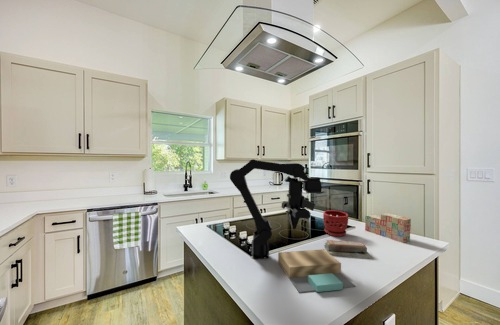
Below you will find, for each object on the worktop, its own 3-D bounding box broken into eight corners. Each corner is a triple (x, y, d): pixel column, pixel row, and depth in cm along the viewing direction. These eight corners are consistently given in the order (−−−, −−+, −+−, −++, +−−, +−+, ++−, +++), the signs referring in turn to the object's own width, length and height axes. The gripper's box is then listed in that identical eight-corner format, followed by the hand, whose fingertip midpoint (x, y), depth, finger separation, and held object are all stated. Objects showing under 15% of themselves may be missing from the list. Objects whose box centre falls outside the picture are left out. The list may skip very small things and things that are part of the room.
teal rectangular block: (308, 275, 73) (307, 281, 73) (316, 285, 67) (316, 292, 67) (332, 273, 75) (331, 278, 75) (342, 283, 69) (342, 289, 69)
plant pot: (318, 230, 127) (319, 210, 127) (339, 229, 129) (340, 210, 129) (329, 238, 114) (330, 216, 114) (352, 238, 116) (353, 215, 116)
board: (289, 278, 75) (289, 267, 75) (278, 262, 87) (278, 252, 87) (340, 273, 79) (341, 263, 79) (323, 258, 91) (323, 249, 90)
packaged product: (328, 245, 94) (324, 237, 104) (328, 256, 94) (323, 247, 104) (372, 248, 92) (363, 239, 101) (372, 259, 92) (363, 250, 102)
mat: (299, 292, 67) (299, 291, 67) (289, 278, 75) (289, 277, 75) (355, 286, 71) (355, 285, 71) (340, 273, 79) (340, 273, 79)
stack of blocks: (364, 230, 129) (365, 210, 129) (371, 229, 132) (371, 209, 132) (403, 243, 110) (404, 219, 110) (410, 241, 113) (411, 218, 113)
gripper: (323, 196, 83) (322, 236, 84) (304, 189, 102) (303, 222, 102) (296, 196, 82) (294, 237, 82) (281, 189, 100) (280, 222, 100)
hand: (293, 229), depth 92 cm, fingers closed
